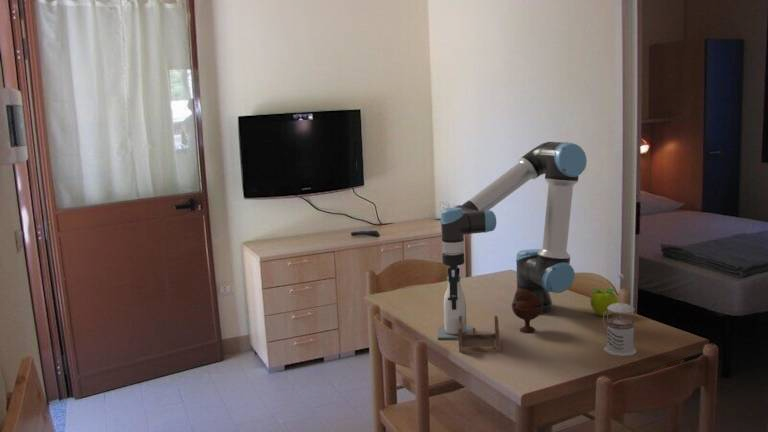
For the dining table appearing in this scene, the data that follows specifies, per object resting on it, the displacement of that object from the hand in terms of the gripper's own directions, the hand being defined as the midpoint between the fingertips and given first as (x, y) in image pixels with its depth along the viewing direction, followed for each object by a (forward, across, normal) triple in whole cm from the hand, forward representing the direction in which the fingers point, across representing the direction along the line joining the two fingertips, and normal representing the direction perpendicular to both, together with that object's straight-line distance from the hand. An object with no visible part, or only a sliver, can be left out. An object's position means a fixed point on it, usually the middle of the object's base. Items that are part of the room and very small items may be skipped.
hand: (455, 311), depth 223 cm
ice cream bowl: (+8, -3, +25) cm, 26 cm away
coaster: (+8, 0, 0) cm, 8 cm away
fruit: (+8, -20, +54) cm, 58 cm away
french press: (+8, +14, +52) cm, 54 cm away
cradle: (+8, +11, +8) cm, 16 cm away
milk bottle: (+7, 0, 0) cm, 7 cm away
